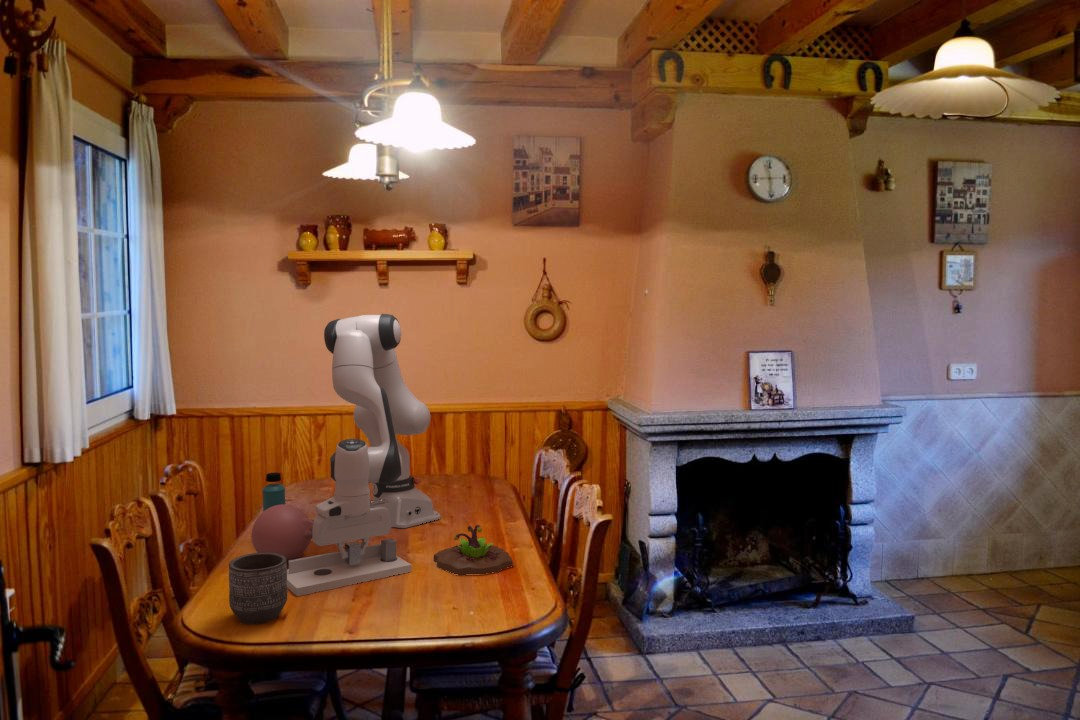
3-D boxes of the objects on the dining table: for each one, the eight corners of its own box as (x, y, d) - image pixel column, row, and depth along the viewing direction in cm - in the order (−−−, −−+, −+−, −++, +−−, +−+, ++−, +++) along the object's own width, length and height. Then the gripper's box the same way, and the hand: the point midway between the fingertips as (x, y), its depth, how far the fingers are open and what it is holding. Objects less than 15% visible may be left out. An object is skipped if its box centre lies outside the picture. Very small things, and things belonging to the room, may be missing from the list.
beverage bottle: (279, 545, 229) (278, 476, 227) (258, 543, 230) (257, 475, 228) (290, 538, 235) (290, 471, 233) (270, 537, 236) (269, 470, 235)
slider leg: (353, 559, 210) (353, 539, 209) (360, 564, 206) (360, 544, 206) (342, 561, 208) (342, 541, 207) (349, 566, 204) (349, 546, 204)
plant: (456, 582, 203) (457, 539, 202) (425, 560, 219) (425, 519, 218) (524, 568, 213) (525, 527, 213) (489, 548, 230) (489, 510, 229)
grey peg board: (387, 557, 220) (387, 532, 219) (411, 572, 208) (411, 545, 208) (278, 579, 202) (277, 551, 202) (297, 596, 191) (296, 567, 190)
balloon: (318, 572, 207) (317, 514, 206) (242, 570, 208) (241, 512, 207) (336, 553, 222) (336, 499, 221) (265, 551, 223) (264, 497, 222)
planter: (252, 603, 186) (251, 549, 185) (298, 610, 183) (297, 555, 182) (217, 624, 175) (216, 566, 174) (265, 631, 171) (264, 573, 170)
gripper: (384, 495, 214) (384, 546, 215) (309, 506, 202) (310, 560, 203) (395, 500, 209) (395, 552, 210) (318, 512, 197) (319, 567, 198)
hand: (352, 556), depth 206 cm, fingers closed on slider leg, 3 cm apart
